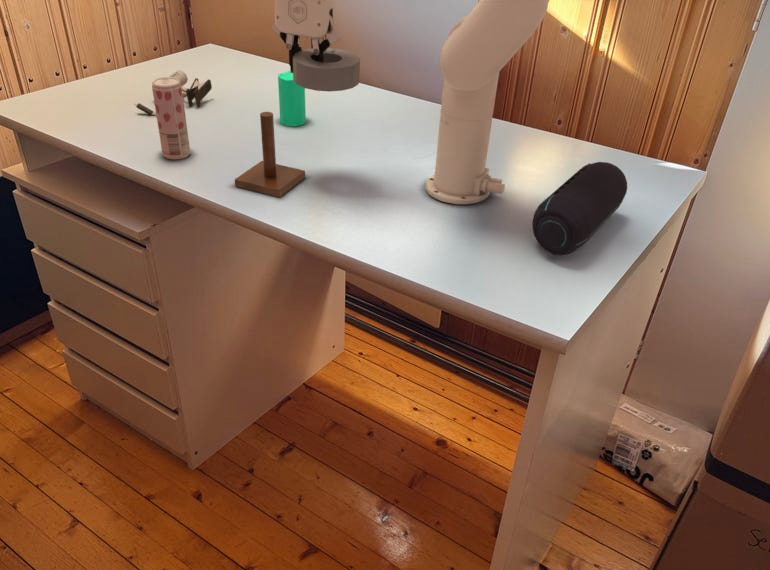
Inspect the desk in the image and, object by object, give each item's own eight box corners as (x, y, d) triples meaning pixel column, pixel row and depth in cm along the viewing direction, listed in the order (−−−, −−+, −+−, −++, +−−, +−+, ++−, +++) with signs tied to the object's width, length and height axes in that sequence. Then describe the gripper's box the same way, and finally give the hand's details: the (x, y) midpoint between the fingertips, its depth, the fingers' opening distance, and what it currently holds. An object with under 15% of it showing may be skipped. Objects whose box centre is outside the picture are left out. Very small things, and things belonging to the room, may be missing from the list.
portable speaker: (574, 199, 138) (586, 149, 132) (624, 213, 134) (639, 163, 127) (518, 251, 122) (528, 197, 115) (573, 270, 117) (587, 215, 111)
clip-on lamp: (170, 133, 165) (216, 94, 175) (163, 108, 160) (212, 70, 169) (131, 118, 169) (178, 81, 178) (123, 94, 163) (173, 57, 173)
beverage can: (180, 146, 152) (169, 74, 142) (196, 154, 149) (186, 81, 139) (157, 154, 149) (145, 80, 139) (173, 162, 146) (161, 88, 136)
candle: (311, 121, 165) (310, 68, 158) (292, 128, 162) (290, 74, 154) (293, 114, 168) (292, 62, 161) (274, 121, 165) (271, 67, 157)
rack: (305, 177, 142) (303, 110, 133) (279, 197, 135) (276, 127, 126) (262, 167, 145) (257, 101, 137) (235, 186, 138) (228, 117, 129)
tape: (369, 77, 133) (370, 54, 131) (340, 95, 125) (341, 72, 122) (313, 66, 137) (313, 44, 134) (281, 83, 128) (280, 60, 126)
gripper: (251, -41, 120) (257, 70, 132) (338, -28, 115) (336, 87, 127) (274, -48, 125) (278, 60, 137) (358, -36, 120) (355, 75, 132)
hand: (306, 72), depth 132 cm, fingers closed on tape, 3 cm apart
